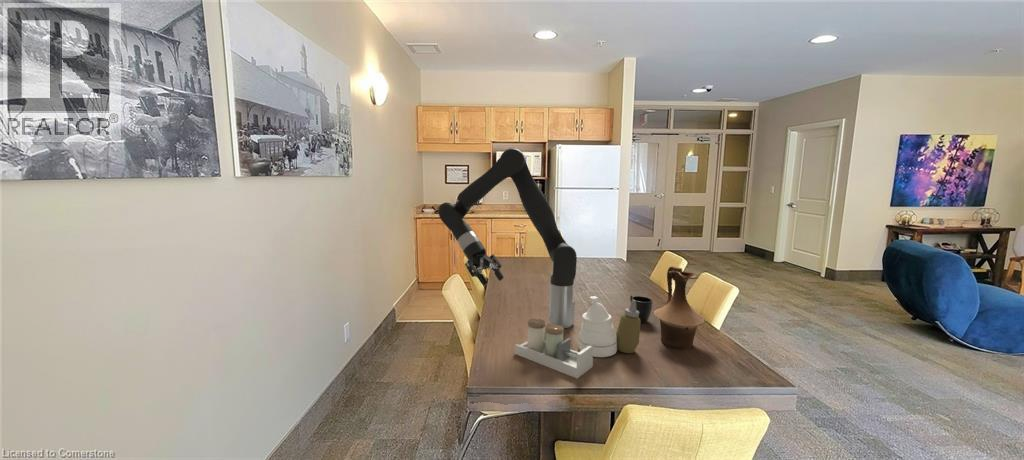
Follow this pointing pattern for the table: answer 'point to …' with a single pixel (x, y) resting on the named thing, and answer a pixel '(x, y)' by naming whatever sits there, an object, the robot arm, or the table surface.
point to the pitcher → (678, 313)
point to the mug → (643, 307)
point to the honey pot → (598, 331)
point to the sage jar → (553, 339)
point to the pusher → (564, 350)
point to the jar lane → (568, 366)
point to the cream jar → (536, 335)
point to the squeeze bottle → (629, 329)
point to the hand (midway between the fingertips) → (494, 281)
